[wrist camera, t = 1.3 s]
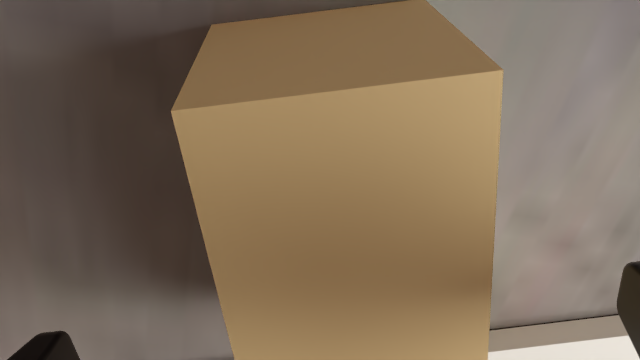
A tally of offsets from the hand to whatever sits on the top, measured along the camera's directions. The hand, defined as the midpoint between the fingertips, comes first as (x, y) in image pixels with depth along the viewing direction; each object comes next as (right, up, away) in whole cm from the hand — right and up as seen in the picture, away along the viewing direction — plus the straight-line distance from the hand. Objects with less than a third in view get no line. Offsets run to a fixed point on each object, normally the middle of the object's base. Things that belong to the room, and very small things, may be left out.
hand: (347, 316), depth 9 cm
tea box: (0, +3, +5) cm, 5 cm away
